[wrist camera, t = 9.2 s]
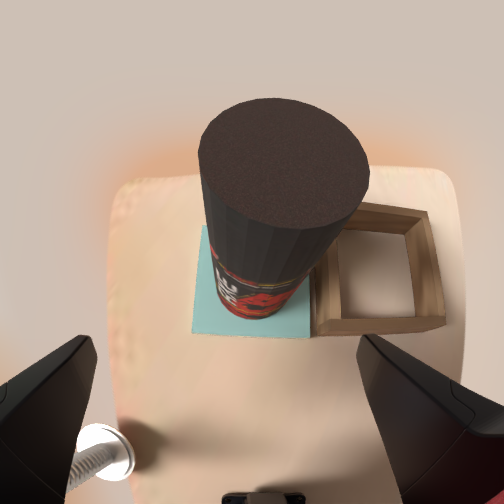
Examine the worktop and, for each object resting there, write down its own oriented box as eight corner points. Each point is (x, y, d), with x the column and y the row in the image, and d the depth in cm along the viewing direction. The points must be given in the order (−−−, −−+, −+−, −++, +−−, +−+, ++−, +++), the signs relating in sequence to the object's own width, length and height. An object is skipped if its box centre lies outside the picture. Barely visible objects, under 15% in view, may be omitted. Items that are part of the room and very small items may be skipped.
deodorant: (202, 298, 22) (162, 180, 9) (236, 236, 25) (247, 82, 11) (272, 332, 22) (344, 263, 8) (301, 267, 24) (381, 136, 10)
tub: (423, 331, 23) (446, 324, 20) (316, 336, 22) (330, 330, 19) (409, 228, 27) (426, 211, 24) (312, 218, 27) (322, 197, 23)
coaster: (308, 338, 22) (310, 337, 22) (192, 333, 22) (191, 332, 21) (306, 235, 26) (307, 232, 25) (203, 228, 25) (202, 225, 25)
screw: (92, 468, 16) (85, 417, 18) (146, 476, 17) (138, 423, 19) (-1, 518, 4) (-25, 436, 6) (75, 552, 5) (47, 465, 7)
